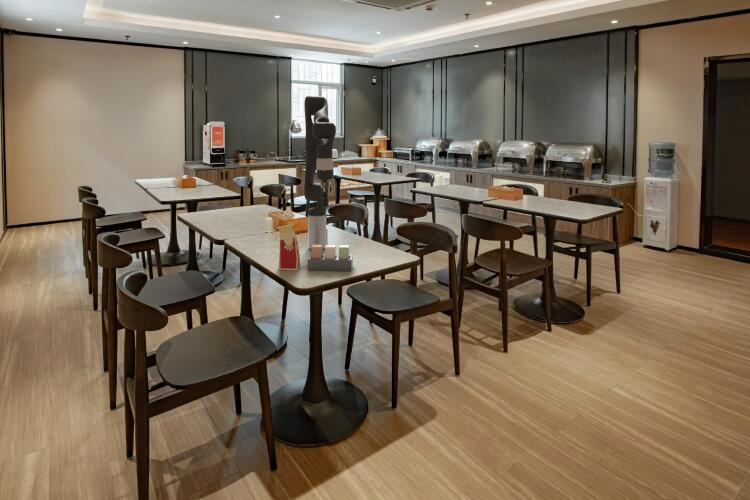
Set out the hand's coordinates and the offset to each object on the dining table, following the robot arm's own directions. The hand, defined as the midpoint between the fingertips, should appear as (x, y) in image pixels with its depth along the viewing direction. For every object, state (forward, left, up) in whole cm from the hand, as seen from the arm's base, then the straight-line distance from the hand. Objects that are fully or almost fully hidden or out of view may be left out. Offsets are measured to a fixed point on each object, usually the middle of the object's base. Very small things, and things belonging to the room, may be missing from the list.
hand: (325, 206), depth 232 cm
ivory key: (+9, +10, -23) cm, 27 cm away
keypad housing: (+9, +10, -26) cm, 29 cm away
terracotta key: (+12, +5, -23) cm, 26 cm away
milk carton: (+20, -5, -26) cm, 33 cm away
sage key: (+5, +15, -23) cm, 28 cm away
